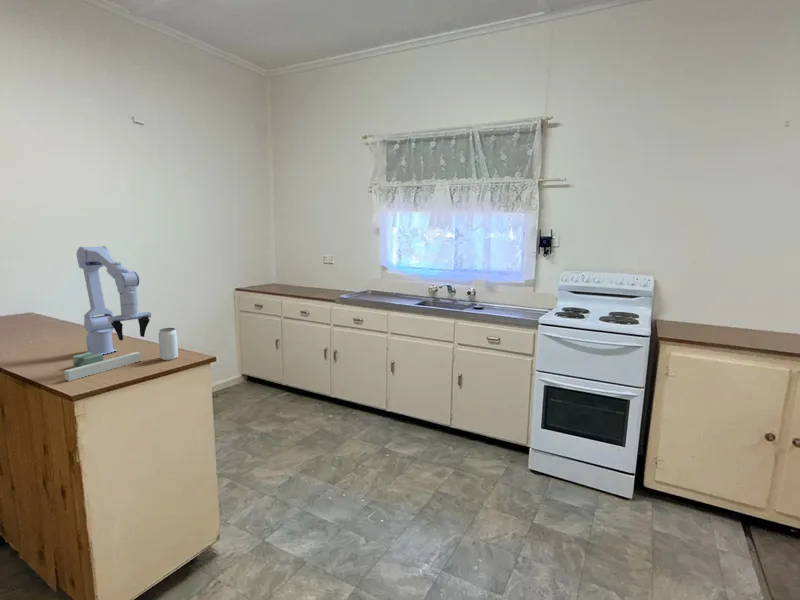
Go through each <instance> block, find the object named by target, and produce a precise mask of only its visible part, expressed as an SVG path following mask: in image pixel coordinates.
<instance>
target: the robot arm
mask: <svg viewBox="0 0 800 600" xmlns="http://www.w3.org/2000/svg"><path fill="white" fill-rule="evenodd" d="M76 259H77V260H76V261H77V265H78V267H79V268H80V269H82V270H83V276H84V280H85V286H86V290H87V295H88V301H89V306H90V309H89V310H88V311H87V312H86V313H85V314H84V315H83V318H84V319H83V320H84V322H83V326H84V329H85V330H86V332H87V335H86V336H85V338H86V339H85V341H86V342H85V343H86V349H87V351H85V352H84V353H88V352H90V353H96V354H101V355H103V354H104V355H108V354H112V353H115V352H114V351H116V352H118V351H119V350H118V349H115V348H114V347H113V344H114V343H113V335H112V331H115V333H116V335H117V338H118V340H119V341H123V340H124V335H123V323H122V322H124V321H134V320H138V326H139V335H140V337H142V338H144V337H145V334H146V330H147V327H148V325H149V323H150V321H151V320H150V319H151V318H152V313H151V312H150V311H146V312H139V303H138V289H137V287H138V286H139V284H140V277H139V275H138V273H137V272H136V271H130V270H128V269H127V267H125V266H124V265H123V264H122V263H121V261H115V260H114V259H113V258H112V256H111V253H110V249H109V248H108V247H107V246H105V245H104V246H79V247H78V249H77V250H76ZM102 267H104V268H106V272H107V274H108V275H110V276H111V277H112V279H114V282H115V286H116V288H117V292H118V293H119V301H120V302H119V304H120V314H119V315H114V313H113V311H112V310H111V309H109V308H107V307H106V304H105V299H104V294H103V288H102V284H101V279H100V272H99V269H101V268H102ZM111 352H112V353H111ZM107 353H108V354H107ZM104 355H103V356H104Z"/></svg>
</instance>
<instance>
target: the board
mask: <svg viewBox="0 0 800 600" xmlns="http://www.w3.org/2000/svg"><path fill="white" fill-rule="evenodd" d="M141 358H142V357H141V352H138V351H136V352H135V351H133V352H131V353H127V354H123V355H120V356H119V355H118V356H116V357H112V358H108V359H103V361H100V362H96V363H92V364H88V365H84V366H80V367H76V368H74V367H73V368H69V369H65V370H63V371H64V373H63V374H64V380H65V381H66V380H73V379H77V378H80V379H82V378H81V377H84V378H86V377H85V376H87V377H89V376H88V375H91V376H93V375H92V374H94V375H97V374H96V373H98V374H100V373H99V372H102V373H104V372H103V371H105V372H107V371H106V370H109V369H112V368H116V367H119V368H121V367H120V366H123V367H125V366H124V365H126V366H128V365H127V364H130V365H132V364H131V363H133V364H135V363H134V362H137V361H141V362H142V359H141ZM137 363H138V362H137ZM116 369H117V368H116ZM112 370H113V369H112ZM109 371H110V370H109ZM77 380H78V379H77ZM73 381H74V380H73Z"/></svg>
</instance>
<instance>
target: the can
mask: <svg viewBox="0 0 800 600" xmlns="http://www.w3.org/2000/svg"><path fill="white" fill-rule="evenodd" d="M158 345H159V355H160V356H159V357H160V360H161V359H163V360H162V361H170V360H169V359H174V358H176V357H177V358H178V357H179V349H178V346H179V345H178V334H177V331H176V327H175V328H174V327H165V328H160V329H159V332H158ZM177 358H176V359H177ZM174 360H175V359H174Z"/></svg>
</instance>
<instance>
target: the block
mask: <svg viewBox="0 0 800 600" xmlns="http://www.w3.org/2000/svg"><path fill="white" fill-rule="evenodd" d="M103 360H104V355H101V354H96V353H90V352H88V353H85V352H84V353H80V354H77V355H73V356H72V363H73V368H74V367H80V366H84V365H88V364H92V363H96V362H100V361H103Z"/></svg>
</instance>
